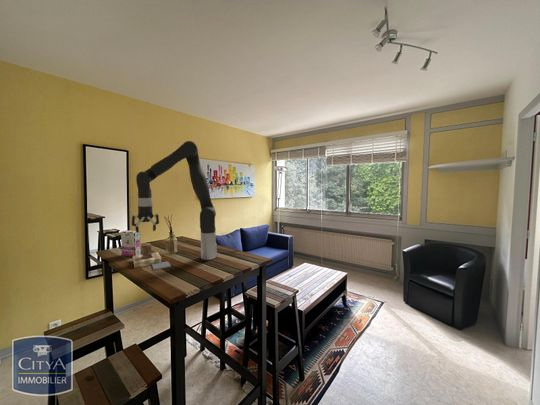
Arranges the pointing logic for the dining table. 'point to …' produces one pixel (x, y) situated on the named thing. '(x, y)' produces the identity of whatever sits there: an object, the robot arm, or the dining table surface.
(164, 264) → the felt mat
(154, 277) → the dining table surface
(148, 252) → the walnut block
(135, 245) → the candy bar box
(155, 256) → the pocket frame
